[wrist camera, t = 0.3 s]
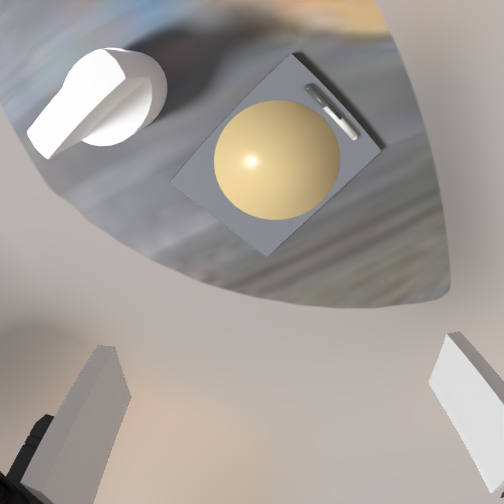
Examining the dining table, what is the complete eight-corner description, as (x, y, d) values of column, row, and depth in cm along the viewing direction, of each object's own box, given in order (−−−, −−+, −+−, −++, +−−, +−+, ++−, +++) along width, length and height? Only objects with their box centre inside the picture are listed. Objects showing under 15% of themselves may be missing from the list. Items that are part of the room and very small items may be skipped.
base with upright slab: (120, 149, 30) (69, 189, 20) (73, 91, 26) (6, 109, 16) (185, 96, 28) (155, 108, 18) (134, 34, 24) (81, 18, 13)
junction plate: (289, 54, 26) (292, 52, 24) (377, 148, 31) (384, 152, 30) (171, 179, 32) (168, 185, 31) (265, 251, 38) (266, 260, 36)
